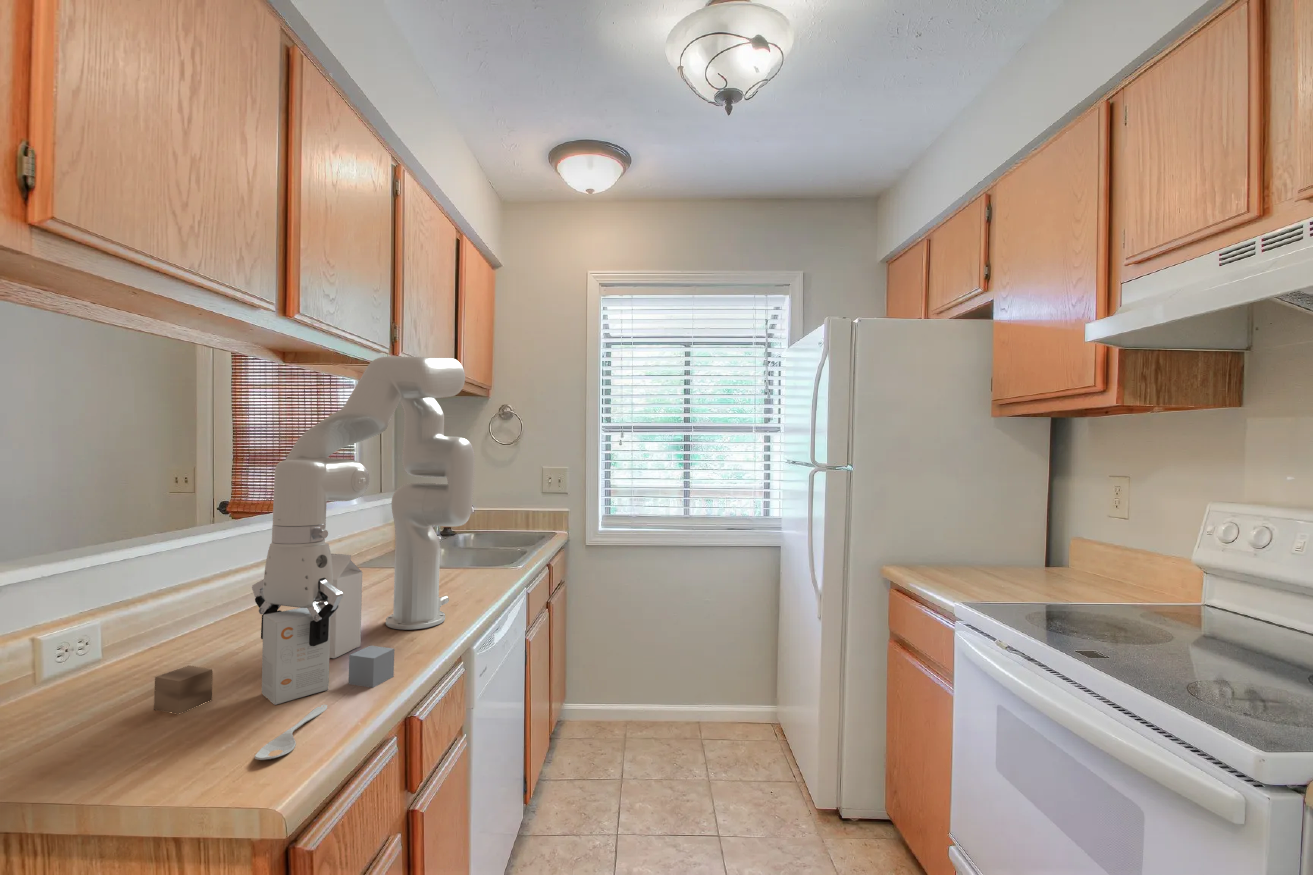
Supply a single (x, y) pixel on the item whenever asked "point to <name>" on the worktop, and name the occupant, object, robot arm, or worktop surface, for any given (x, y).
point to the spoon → (286, 738)
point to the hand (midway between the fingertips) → (294, 640)
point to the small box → (292, 657)
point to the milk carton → (346, 606)
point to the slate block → (371, 666)
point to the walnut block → (183, 689)
